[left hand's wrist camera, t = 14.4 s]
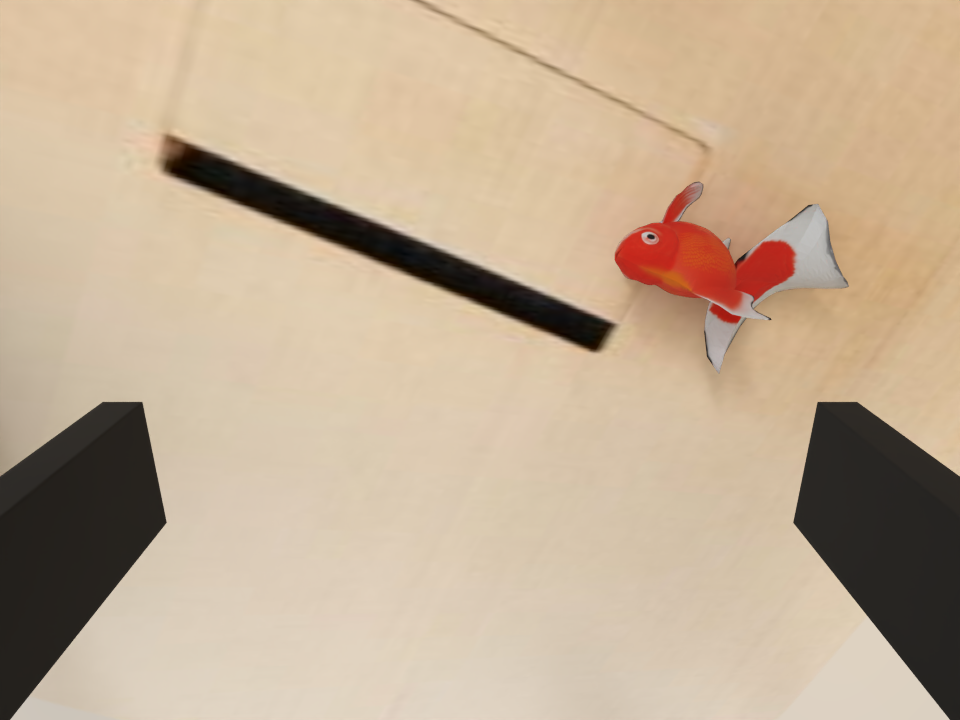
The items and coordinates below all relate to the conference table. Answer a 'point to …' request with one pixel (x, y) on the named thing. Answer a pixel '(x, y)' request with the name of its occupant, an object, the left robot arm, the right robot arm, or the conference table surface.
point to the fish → (729, 266)
